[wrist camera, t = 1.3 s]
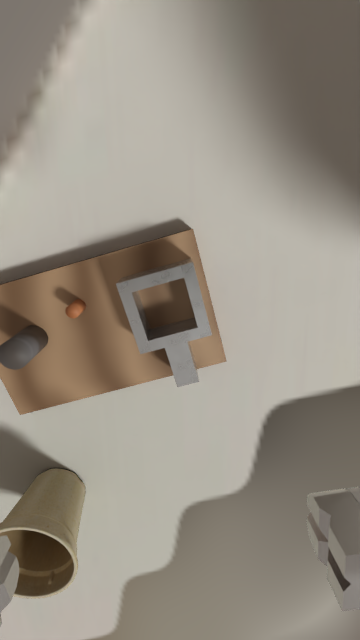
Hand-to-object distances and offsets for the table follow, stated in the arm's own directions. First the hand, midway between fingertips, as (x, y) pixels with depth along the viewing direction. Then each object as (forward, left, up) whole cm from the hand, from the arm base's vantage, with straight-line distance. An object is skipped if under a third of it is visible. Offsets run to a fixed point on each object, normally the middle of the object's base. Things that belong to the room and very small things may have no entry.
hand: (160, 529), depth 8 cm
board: (+7, 0, -22) cm, 23 cm away
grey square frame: (0, +1, -21) cm, 21 cm away
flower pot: (+19, +18, -22) cm, 34 cm away
